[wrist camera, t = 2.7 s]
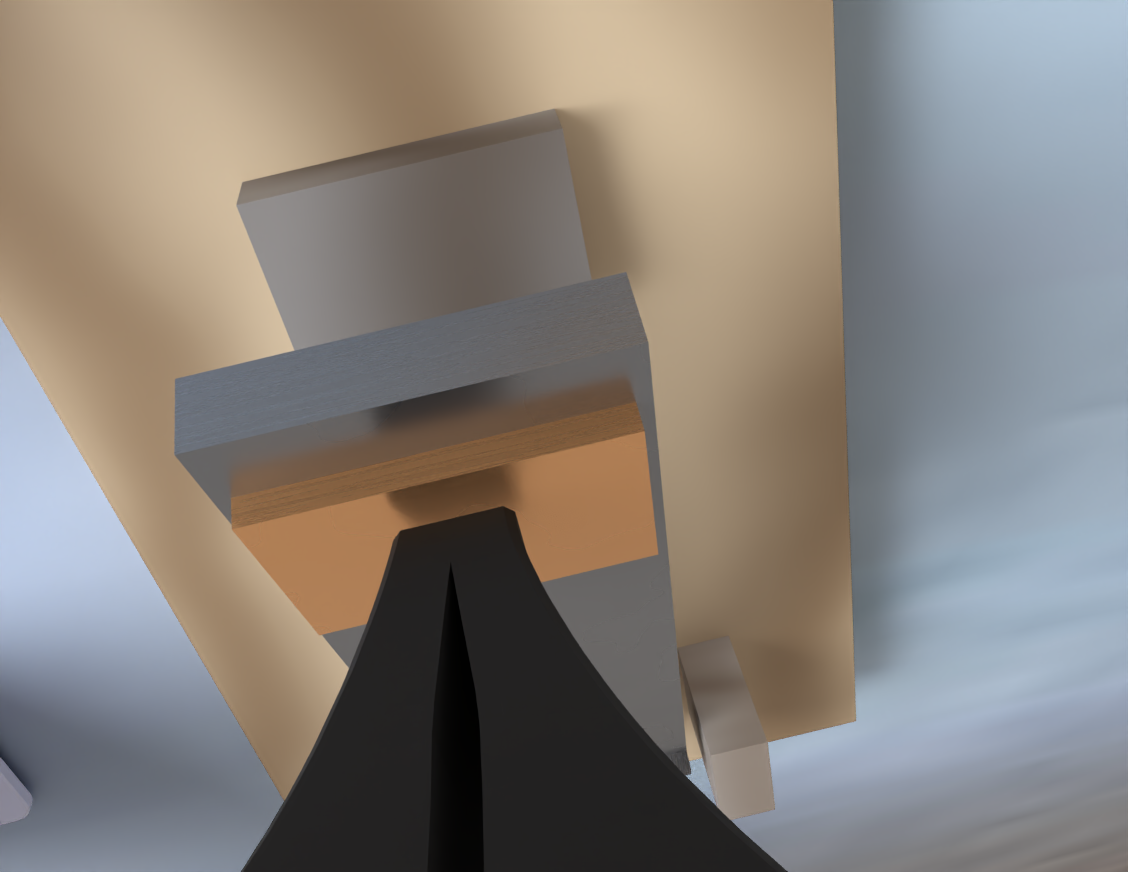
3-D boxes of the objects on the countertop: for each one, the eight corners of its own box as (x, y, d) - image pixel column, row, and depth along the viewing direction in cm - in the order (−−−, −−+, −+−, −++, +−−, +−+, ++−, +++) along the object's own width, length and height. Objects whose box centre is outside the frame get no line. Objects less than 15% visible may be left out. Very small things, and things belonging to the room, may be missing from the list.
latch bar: (465, 764, 25) (476, 838, 24) (175, 357, 12) (173, 487, 11) (674, 714, 25) (693, 786, 24) (620, 251, 12) (658, 372, 11)
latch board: (317, 783, 28) (307, 968, 24) (-178, -124, 15) (-377, -51, 11) (828, 661, 28) (903, 825, 24) (774, -346, 15) (917, -354, 11)
